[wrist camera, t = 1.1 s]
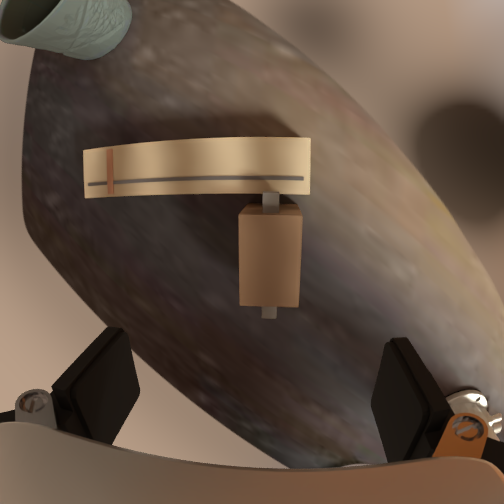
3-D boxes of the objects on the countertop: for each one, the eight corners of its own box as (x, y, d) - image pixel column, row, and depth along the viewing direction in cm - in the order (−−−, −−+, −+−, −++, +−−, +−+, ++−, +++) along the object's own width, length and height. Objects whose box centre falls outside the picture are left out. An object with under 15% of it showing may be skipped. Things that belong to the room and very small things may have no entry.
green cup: (155, 11, 25) (103, -44, 13) (94, 84, 27) (19, 60, 16) (103, -17, 23) (48, -61, 12) (50, 48, 26) (-18, 24, 14)
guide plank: (306, 141, 27) (310, 137, 23) (305, 190, 29) (309, 194, 25) (104, 150, 29) (82, 150, 25) (105, 193, 30) (84, 198, 26)
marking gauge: (297, 187, 29) (302, 194, 22) (294, 290, 31) (297, 324, 24) (248, 187, 29) (238, 193, 22) (248, 289, 32) (239, 322, 25)
